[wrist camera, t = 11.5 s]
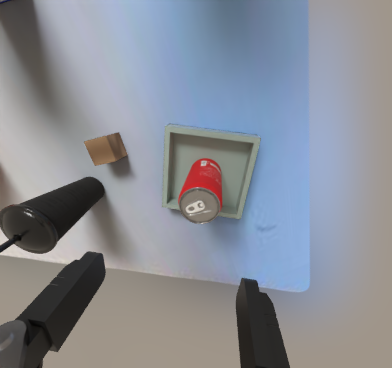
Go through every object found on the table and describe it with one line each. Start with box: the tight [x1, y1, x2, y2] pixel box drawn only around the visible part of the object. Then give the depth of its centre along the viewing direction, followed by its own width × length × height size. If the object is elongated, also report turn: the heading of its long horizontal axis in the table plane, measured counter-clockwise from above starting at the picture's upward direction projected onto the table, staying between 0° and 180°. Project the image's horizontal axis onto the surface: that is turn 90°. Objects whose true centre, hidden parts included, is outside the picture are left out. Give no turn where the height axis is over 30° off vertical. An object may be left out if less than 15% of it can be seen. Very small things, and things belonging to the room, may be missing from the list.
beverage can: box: [178, 158, 222, 224], centre depth 26 cm, size 5×5×12 cm
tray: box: [162, 124, 261, 219], centre depth 31 cm, size 14×14×3 cm
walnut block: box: [84, 132, 128, 166], centre depth 30 cm, size 4×4×4 cm
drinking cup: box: [0, 177, 104, 254], centre depth 27 cm, size 8×8×20 cm
